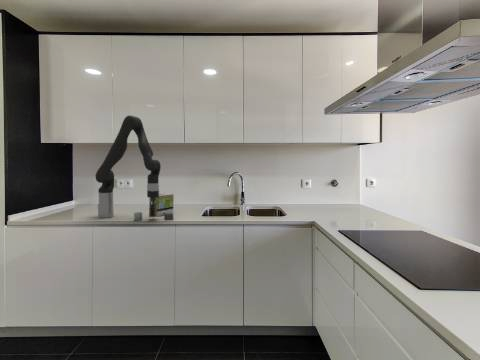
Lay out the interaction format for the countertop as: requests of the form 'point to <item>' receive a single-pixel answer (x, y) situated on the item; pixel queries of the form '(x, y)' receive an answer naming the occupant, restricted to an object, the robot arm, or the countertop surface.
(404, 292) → the countertop surface
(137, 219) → the grey egg shape
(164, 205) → the tea box
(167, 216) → the charcoal block
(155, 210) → the walnut block
